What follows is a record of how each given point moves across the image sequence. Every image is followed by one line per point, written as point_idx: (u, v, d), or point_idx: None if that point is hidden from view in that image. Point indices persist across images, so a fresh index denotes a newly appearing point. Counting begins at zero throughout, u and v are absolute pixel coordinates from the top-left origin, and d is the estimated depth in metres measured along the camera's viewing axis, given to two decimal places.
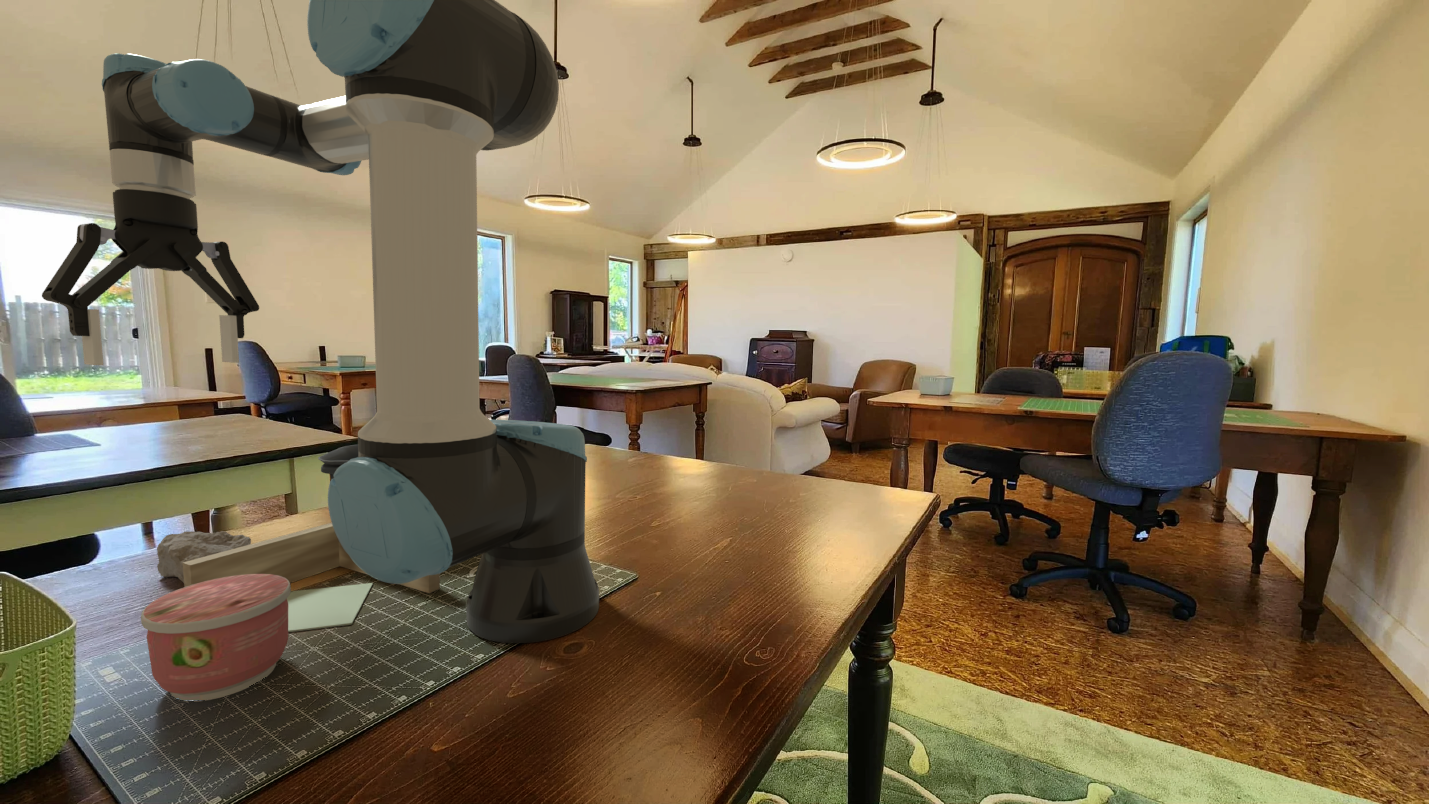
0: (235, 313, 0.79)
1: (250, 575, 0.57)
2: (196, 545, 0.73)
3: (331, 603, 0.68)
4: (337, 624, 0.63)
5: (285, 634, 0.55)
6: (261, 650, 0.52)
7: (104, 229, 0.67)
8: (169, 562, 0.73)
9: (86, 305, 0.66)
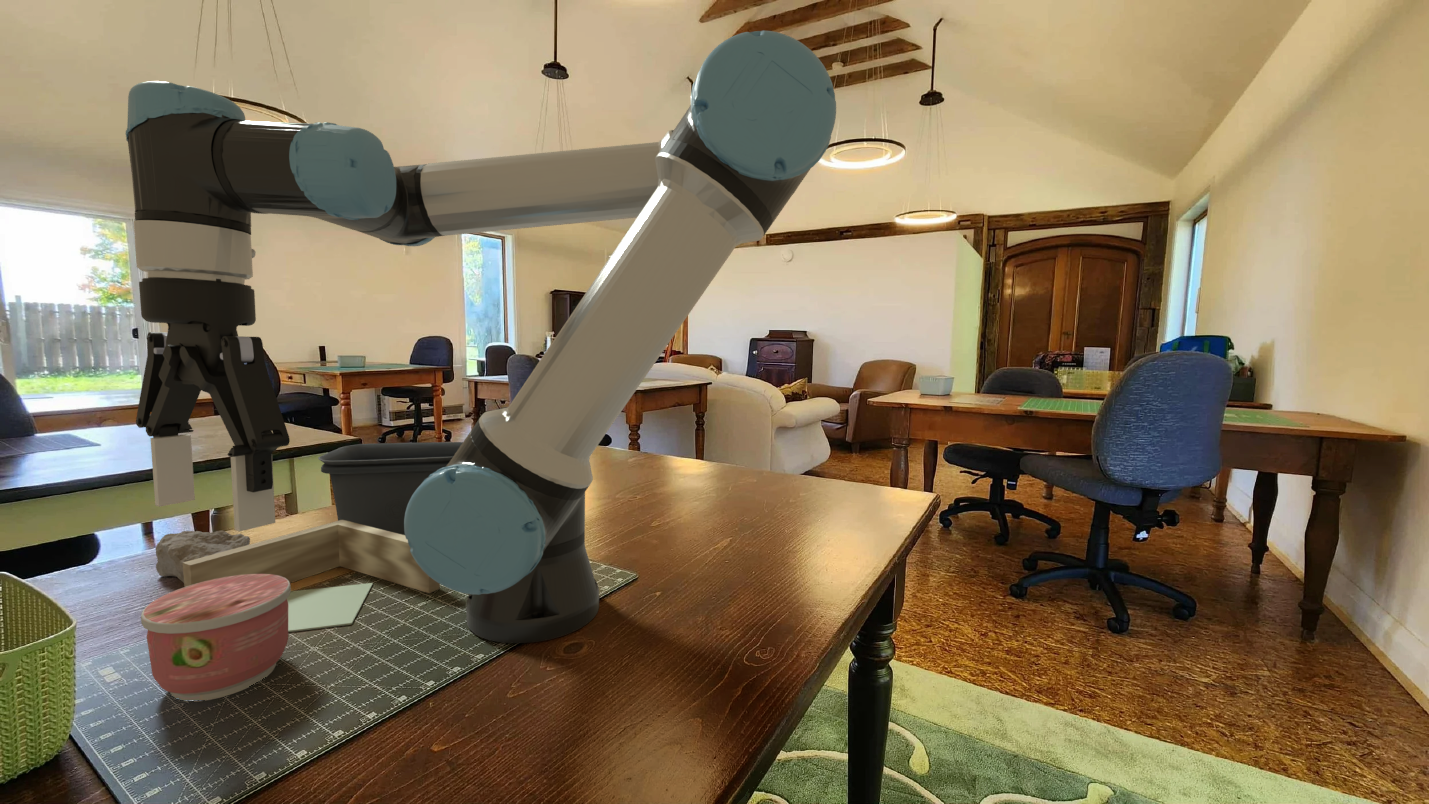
0: None
1: (250, 575, 0.57)
2: (196, 545, 0.73)
3: (331, 603, 0.68)
4: (337, 624, 0.63)
5: (285, 634, 0.55)
6: (261, 650, 0.52)
7: (167, 337, 0.52)
8: (168, 561, 0.74)
9: (150, 433, 0.53)
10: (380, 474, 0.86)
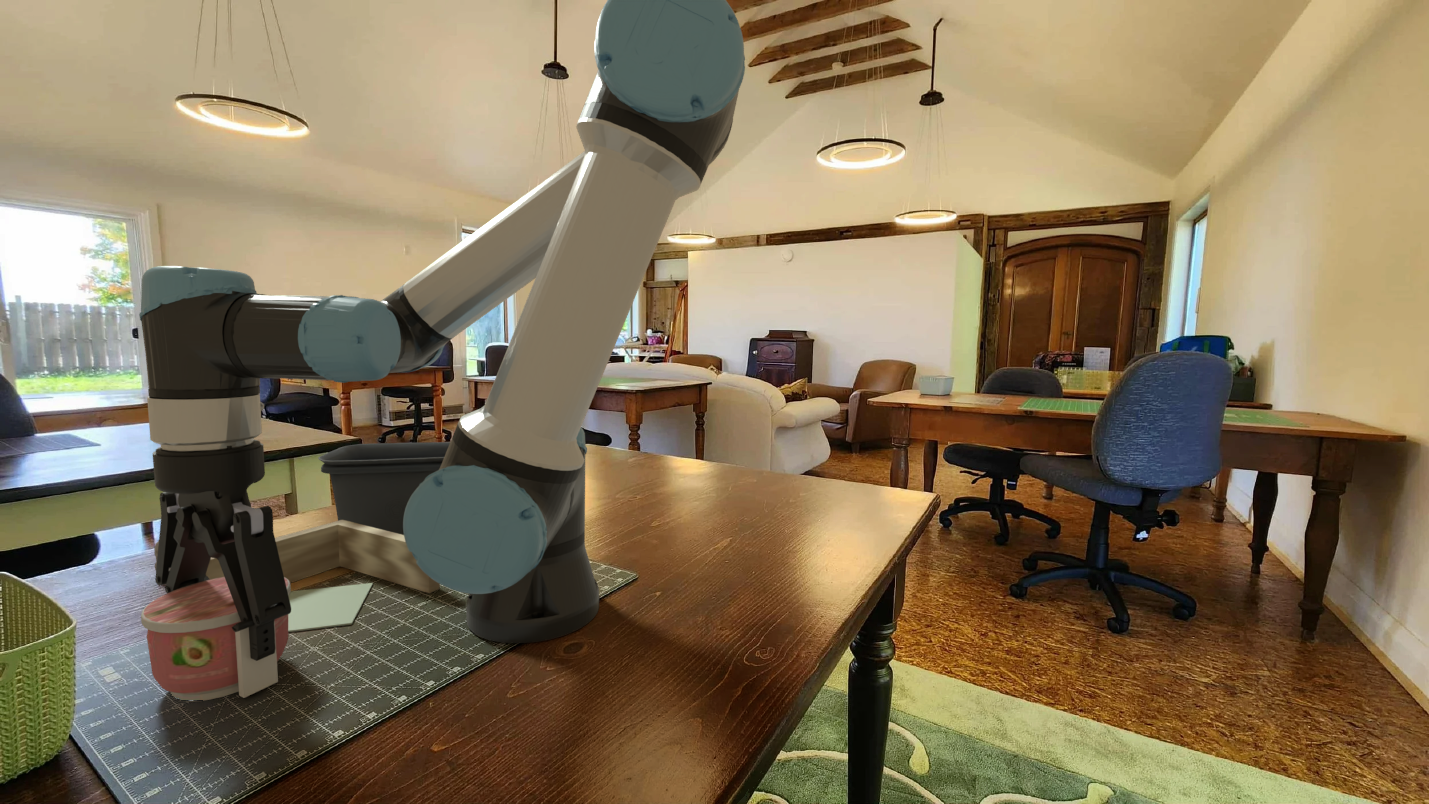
0: None
1: None
2: None
3: (331, 603, 0.68)
4: (337, 624, 0.63)
5: (285, 634, 0.55)
6: None
7: (178, 495, 0.54)
8: None
9: None
10: (380, 474, 0.86)
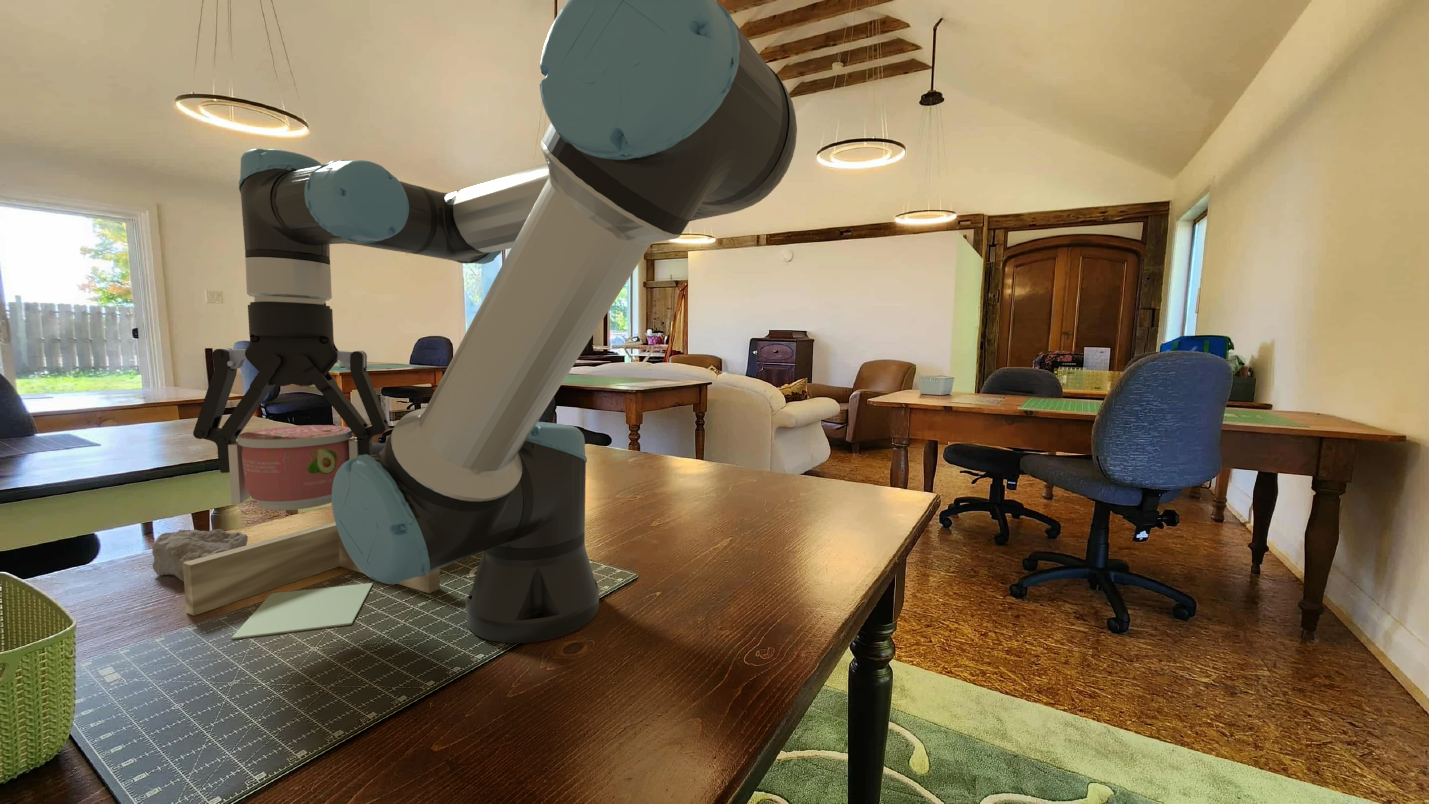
0: (357, 437, 0.66)
1: (279, 427, 0.67)
2: (194, 543, 0.74)
3: (331, 603, 0.68)
4: (337, 624, 0.63)
5: None
6: None
7: (235, 351, 0.61)
8: (165, 560, 0.74)
9: (226, 440, 0.61)
10: None
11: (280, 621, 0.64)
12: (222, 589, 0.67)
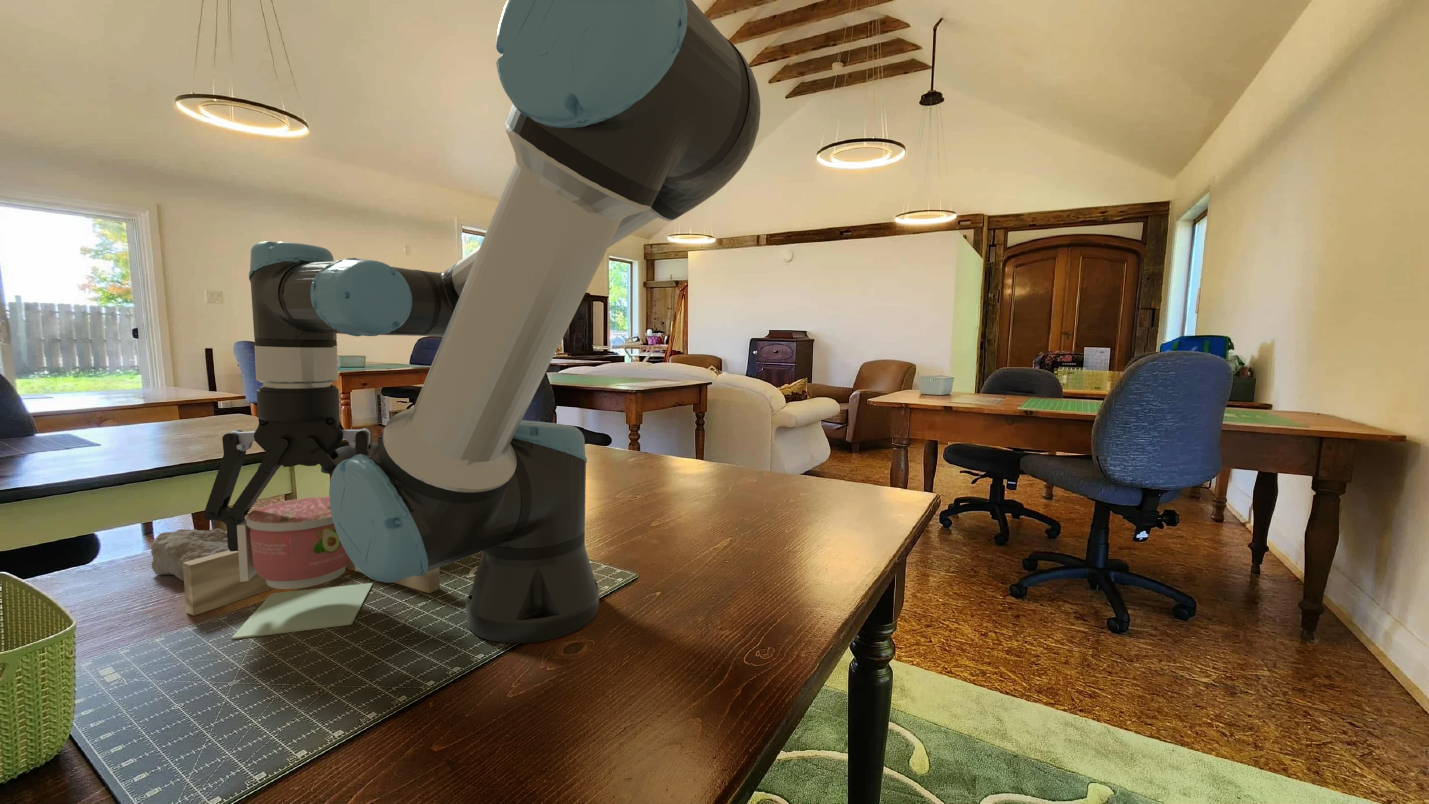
0: None
1: (287, 501, 0.68)
2: (194, 542, 0.74)
3: (331, 603, 0.68)
4: (337, 624, 0.63)
5: None
6: None
7: (244, 434, 0.63)
8: (165, 560, 0.74)
9: (235, 521, 0.63)
10: None
11: (280, 621, 0.64)
12: (222, 589, 0.67)
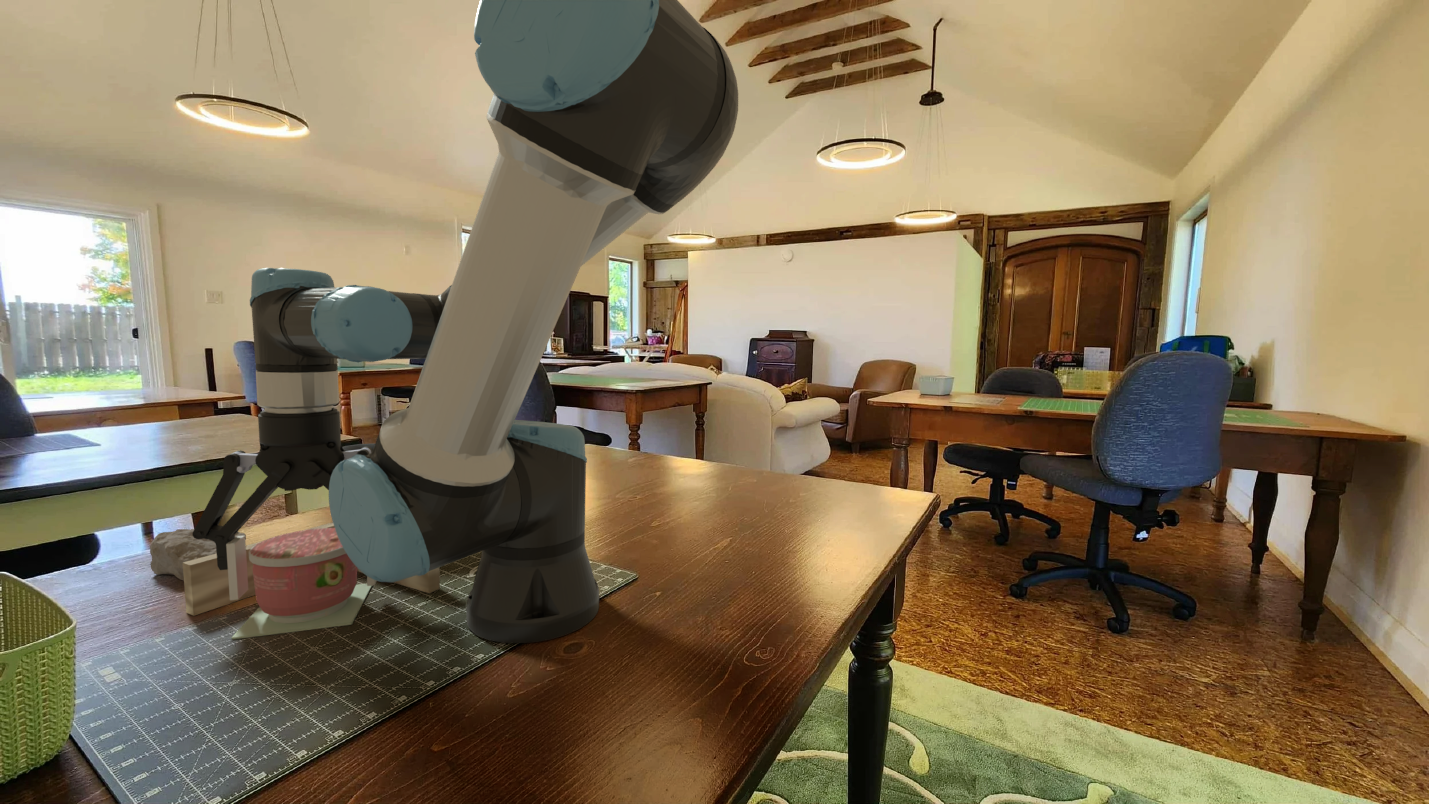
0: None
1: (289, 533, 0.69)
2: (193, 542, 0.74)
3: None
4: (337, 624, 0.63)
5: None
6: None
7: (246, 456, 0.63)
8: (164, 559, 0.74)
9: (224, 540, 0.62)
10: None
11: None
12: (222, 589, 0.67)
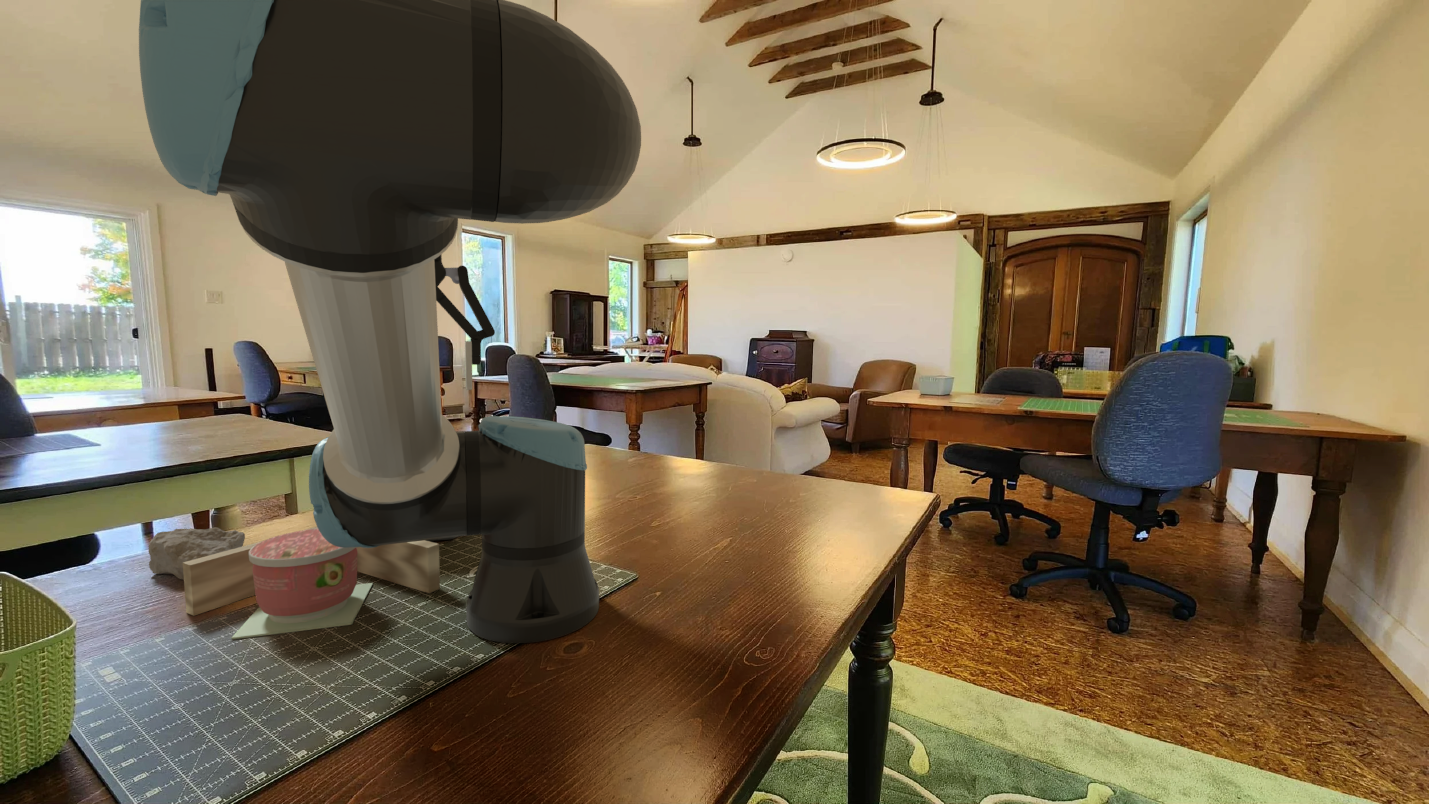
0: (472, 339, 0.76)
1: (289, 533, 0.69)
2: (192, 541, 0.74)
3: None
4: (337, 624, 0.63)
5: None
6: None
7: None
8: (163, 559, 0.74)
9: None
10: None
11: None
12: (222, 589, 0.67)
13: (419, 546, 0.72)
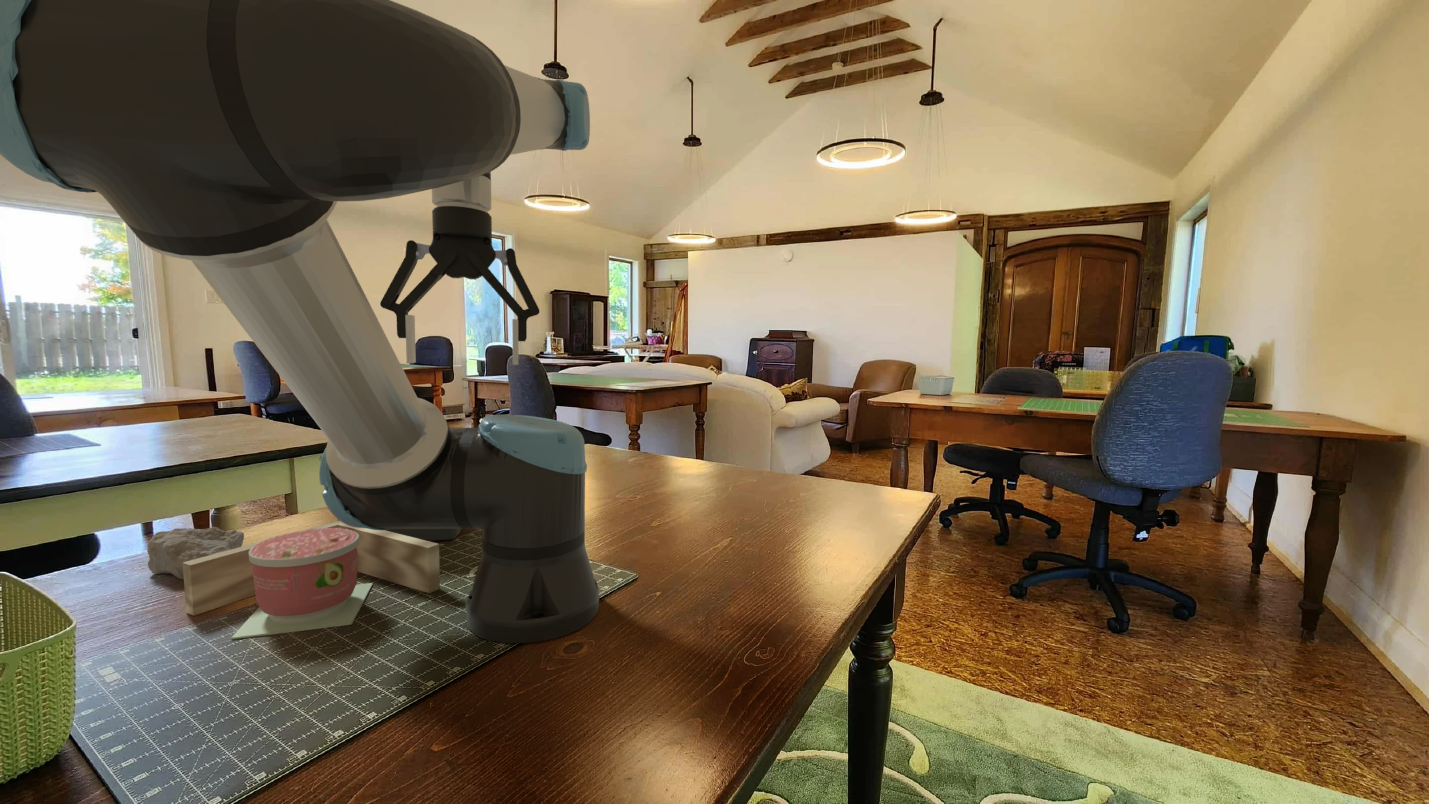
0: (518, 317, 0.82)
1: (289, 533, 0.69)
2: (192, 541, 0.75)
3: None
4: (337, 624, 0.63)
5: None
6: None
7: (421, 245, 0.77)
8: (162, 559, 0.74)
9: (403, 311, 0.76)
10: None
11: None
12: (222, 589, 0.67)
13: (419, 546, 0.72)
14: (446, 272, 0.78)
